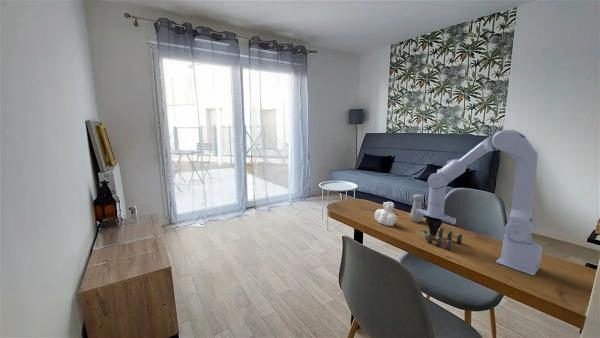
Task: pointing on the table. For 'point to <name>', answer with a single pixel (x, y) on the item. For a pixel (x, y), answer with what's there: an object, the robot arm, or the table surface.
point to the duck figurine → (386, 214)
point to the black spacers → (449, 239)
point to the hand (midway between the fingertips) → (433, 235)
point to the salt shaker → (416, 205)
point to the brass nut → (423, 233)
